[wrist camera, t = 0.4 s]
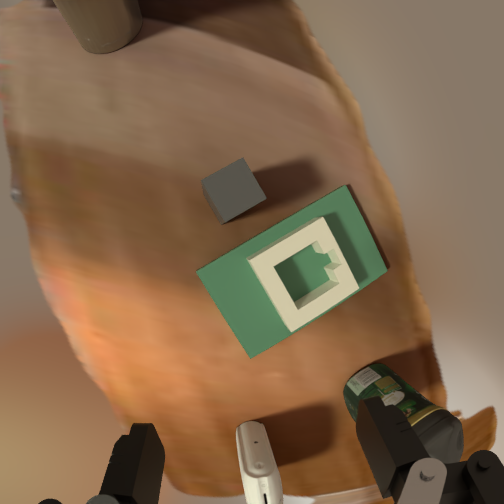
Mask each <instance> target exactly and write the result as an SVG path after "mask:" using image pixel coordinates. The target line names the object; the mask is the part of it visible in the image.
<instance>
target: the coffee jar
mask: <svg viewBox="0 0 504 504" xmlns="http://www.w3.org/2000/svg"><path fill="white" fill-rule="evenodd" d="M343 394H344V399H345V403H346V406H347V408H348V411H349V413H350V415H351V416H352V418H353V419H354V421H355V422H356V420H357V413H358V406H359V401H360V400H361V399H364V398H369V397H372V396H376V395H379V396H380V397H381V399H382V400H383V402H384V404H385V406H387V405H391V404H393V405H395V406H396V407H398V408H399V409H400V410H402V411H403V413H404V414H405V416H406V418H407V419H408V422H410V424H411V426H412V429H414V431H415V432H416V434H417V436H418V437H419V439H420V441H421V442H422V444H423V446H424V447H425V449H426V451H427V452H428V454H429V455H430V457H431V458H435V459H438V460H440V461H441V462H442V463H447V464H448V463H456V462H459V461H460V458H461V456H462V452H463V446H464V445H463V430H462V424H461V422H460V420H459V419H458V418H456V417H454V416H453V415H452V414H451V413H450V412H449V411H447V410H446V409H445V408H443V407H440V406H437V405H435V404H433V403H432V402H430V401H429V400H427V399H426V398H425V397H424V396H422V395H421V394H420V393H419V392H417V391H416V390H415V389H414V388H412V387H411V386H410V385H409V384H407V383H406V382H405V381H404V380H403V379H402V378H400V377H399V376H398V375H397V374H396V373H395V372H393V371H392V370H391V369H390V368H388V367H387V366H386V365H384V364H373V365H370V366H368V367H366V368H364V369H362V370H360V371H359V372H357V373H356V374H355V375H354V376H352V377H351V378H350V379H349V380H348V382H347V383H346V385H345V387H344V391H343Z"/></svg>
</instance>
